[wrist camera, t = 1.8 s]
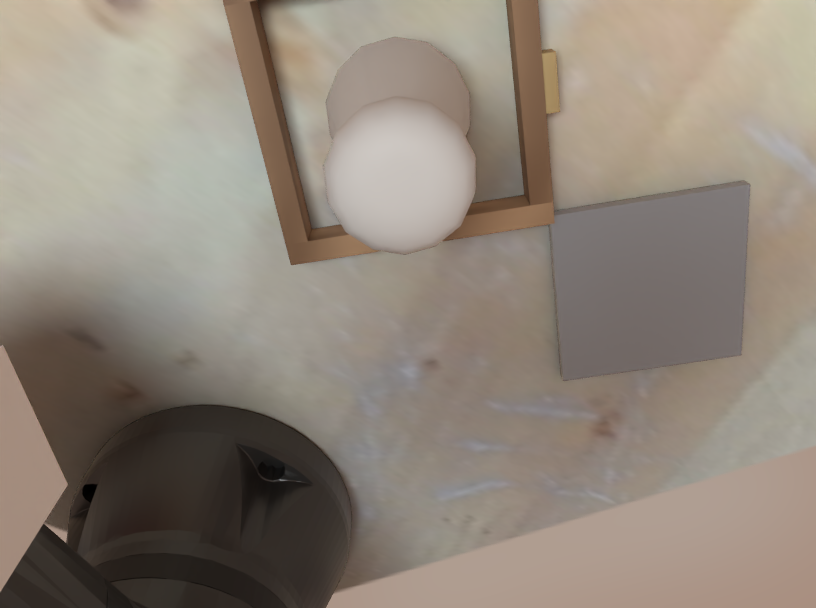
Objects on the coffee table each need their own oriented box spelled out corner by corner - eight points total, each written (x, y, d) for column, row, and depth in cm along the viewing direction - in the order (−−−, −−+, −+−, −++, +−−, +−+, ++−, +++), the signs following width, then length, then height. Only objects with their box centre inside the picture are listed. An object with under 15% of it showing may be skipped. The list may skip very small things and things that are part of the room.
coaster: (560, 374, 36) (563, 381, 36) (547, 212, 32) (550, 216, 32) (735, 349, 36) (741, 355, 35) (744, 180, 32) (750, 184, 31)
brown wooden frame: (295, 252, 33) (291, 265, 32) (226, -23, 28) (216, -23, 27) (560, 209, 32) (568, 221, 31) (539, -81, 27) (547, -84, 26)
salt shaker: (355, 183, 32) (329, 310, 20) (313, 55, 29) (256, 116, 18) (479, 147, 31) (528, 258, 19) (447, 14, 29) (481, 49, 17)
